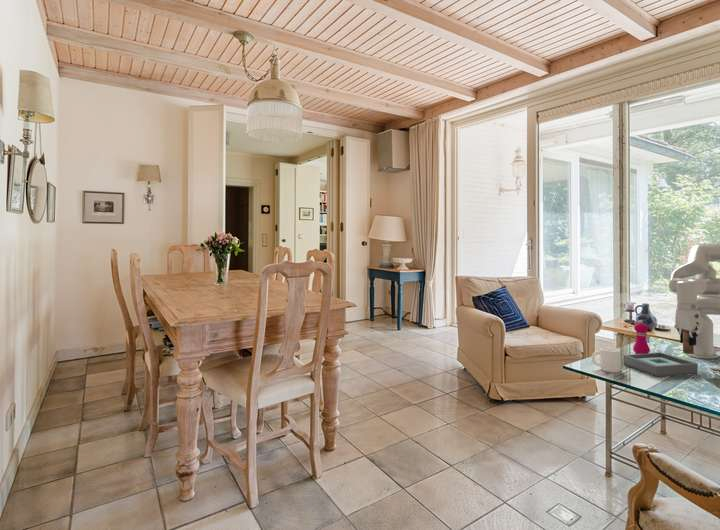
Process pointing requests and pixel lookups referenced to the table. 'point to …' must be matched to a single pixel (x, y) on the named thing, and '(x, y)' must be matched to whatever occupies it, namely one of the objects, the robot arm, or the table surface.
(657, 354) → the tray
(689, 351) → the peg
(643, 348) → the pepper mill
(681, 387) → the table surface
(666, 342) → the table surface
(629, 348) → the table surface
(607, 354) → the mug
